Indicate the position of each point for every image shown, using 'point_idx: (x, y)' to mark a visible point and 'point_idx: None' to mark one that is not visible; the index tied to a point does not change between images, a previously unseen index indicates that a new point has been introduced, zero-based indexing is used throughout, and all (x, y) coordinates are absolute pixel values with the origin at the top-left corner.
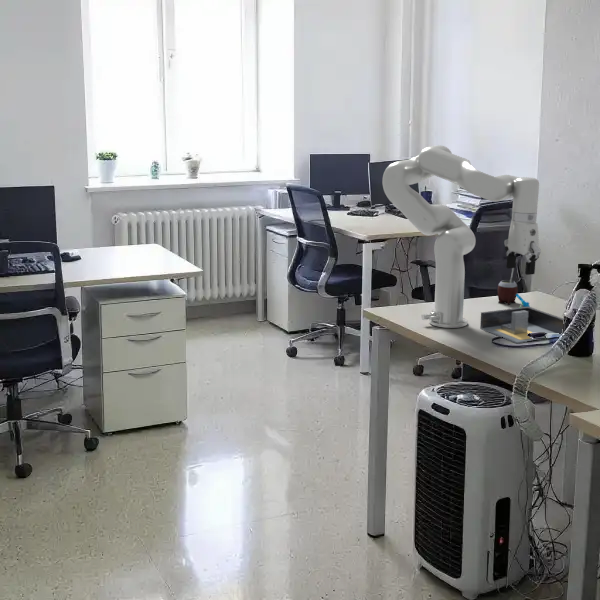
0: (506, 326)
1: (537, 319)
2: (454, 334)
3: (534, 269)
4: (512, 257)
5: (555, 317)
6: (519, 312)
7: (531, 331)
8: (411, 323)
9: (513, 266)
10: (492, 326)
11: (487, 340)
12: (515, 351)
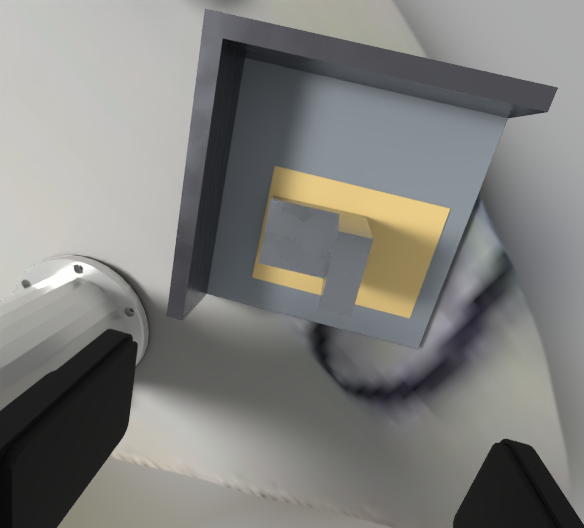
0: (289, 266)
1: (316, 68)
2: (201, 402)
3: (559, 498)
4: (27, 509)
5: (470, 94)
6: (352, 290)
7: (363, 181)
8: None
9: (125, 374)
10: (213, 249)
11: (318, 382)
12: (469, 417)
